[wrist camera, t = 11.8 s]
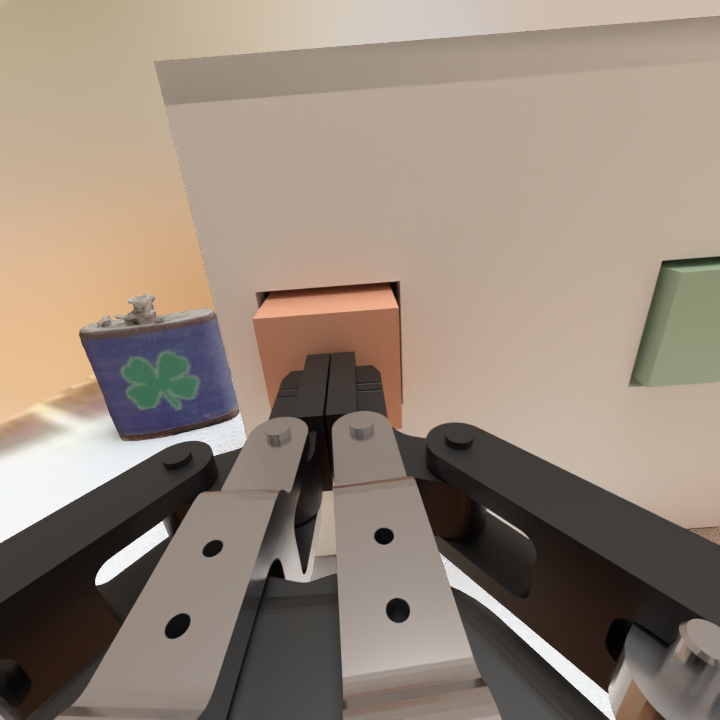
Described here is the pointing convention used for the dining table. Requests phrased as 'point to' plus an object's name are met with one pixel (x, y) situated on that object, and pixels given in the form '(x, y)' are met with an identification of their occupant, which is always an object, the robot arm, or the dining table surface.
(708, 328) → the sage button
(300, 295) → the terracotta button
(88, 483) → the dining table surface
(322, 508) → the button panel
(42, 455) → the dining table surface
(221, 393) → the flask
